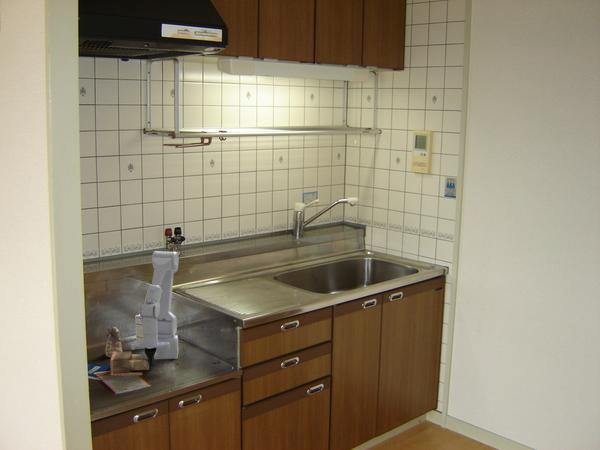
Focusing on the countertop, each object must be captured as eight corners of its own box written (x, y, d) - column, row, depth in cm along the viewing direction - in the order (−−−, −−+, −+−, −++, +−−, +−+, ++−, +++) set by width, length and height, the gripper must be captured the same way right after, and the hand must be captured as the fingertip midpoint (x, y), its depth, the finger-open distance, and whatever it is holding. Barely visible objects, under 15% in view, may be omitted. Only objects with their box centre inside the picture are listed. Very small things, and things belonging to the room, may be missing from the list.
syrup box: (145, 349, 301) (145, 317, 299) (135, 347, 305) (134, 314, 302) (155, 346, 306) (154, 313, 304) (145, 343, 309) (144, 311, 307)
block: (132, 365, 282) (131, 351, 281) (129, 373, 273) (129, 359, 272) (116, 366, 281) (116, 351, 280) (113, 374, 272) (113, 359, 272)
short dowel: (141, 363, 288) (141, 355, 289) (140, 361, 285) (140, 353, 286) (121, 363, 287) (121, 356, 288) (120, 361, 284) (120, 354, 285)
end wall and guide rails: (145, 364, 284) (144, 349, 283) (142, 375, 272) (141, 360, 271) (114, 365, 283) (114, 350, 282) (110, 376, 271) (109, 361, 270)
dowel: (149, 366, 280) (148, 357, 279) (148, 372, 277) (148, 363, 275) (119, 367, 279) (119, 358, 277) (118, 373, 275) (117, 364, 274)
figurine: (120, 357, 292) (119, 329, 290) (103, 357, 292) (102, 329, 290) (125, 351, 299) (124, 324, 297) (108, 351, 299) (107, 324, 297)
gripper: (130, 336, 271) (131, 370, 274) (168, 335, 273) (169, 368, 275) (132, 331, 278) (133, 363, 280) (169, 330, 280) (170, 362, 282)
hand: (151, 366), depth 278 cm, fingers closed
